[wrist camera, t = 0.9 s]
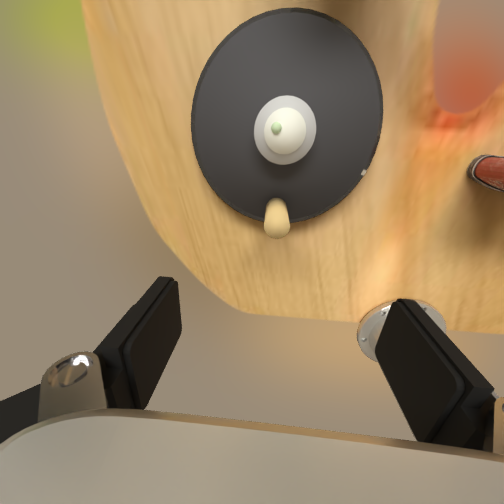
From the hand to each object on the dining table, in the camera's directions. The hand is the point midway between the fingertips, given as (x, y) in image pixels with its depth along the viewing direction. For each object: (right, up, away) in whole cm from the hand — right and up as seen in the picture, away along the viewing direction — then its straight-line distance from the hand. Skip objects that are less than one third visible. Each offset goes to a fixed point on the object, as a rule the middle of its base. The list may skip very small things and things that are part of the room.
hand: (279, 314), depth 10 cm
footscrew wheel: (+2, +16, +16) cm, 22 cm away
